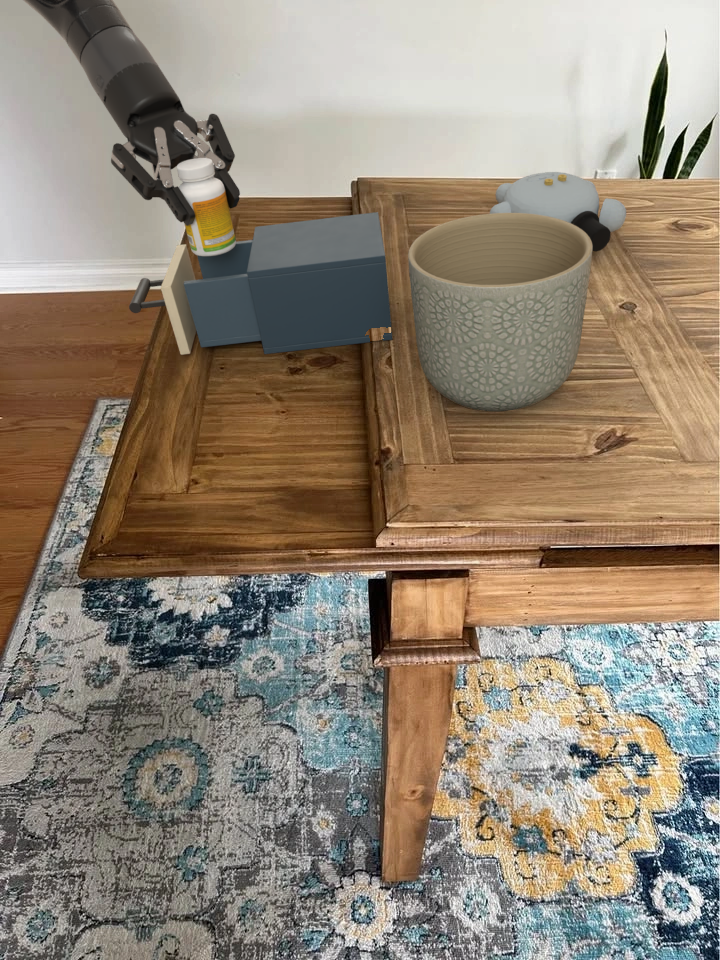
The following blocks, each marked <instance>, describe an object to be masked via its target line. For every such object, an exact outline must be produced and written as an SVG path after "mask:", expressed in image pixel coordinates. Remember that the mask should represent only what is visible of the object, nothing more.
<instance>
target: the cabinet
mask: <svg viewBox="0 0 720 960" xmlns="http://www.w3.org/2000/svg"><path fill="white" fill-rule="evenodd" d="M252 240H253V241H252V247H251V252H250V257H249V263H248V268H247V276H248V280H249V285H250V290H251V294H252V299H253V303H254V308H255V313H256V317H257V322H258V327H259V331H260V336H261V340H262V341H261V345H262V349H263V354H264V355H271V354H280V353H286V352H297V351H307V350H313V349H323V348H331V347H332V348H333V347H340V346H348V345H358V344H366V343H371V342H370V338H369V335H366V336H365V334H366V332H367V331H368V330H369V329H371V328H380V327H386V328H388V327H393V326H392V315H391V303H390V293H389V283H388V282H389V281H388V270H387V260H386V259H387V258H386V252H385V245H384V238H383V232H382V228H381V221H380V215H379V211H377V212H374V211H373V212H367V213H359V214H351V215H343V216H342V215H341V216H334V217H325V218H318V219H310V220H301V221H292V222H283V223H276V224H269V225H268V224H267V225H259V226H255V227H254V230H253V236H252ZM383 338H384V339H382V340H383V341H382V342H385V341H392V340H393V331H392V332H391V333H384V335H383Z"/></svg>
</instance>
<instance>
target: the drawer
mask: <svg viewBox="0 0 720 960" xmlns="http://www.w3.org/2000/svg"><path fill="white" fill-rule="evenodd" d="M252 241H253V239H247V240H239V241H236V245H235V247H234V248H233V249H231V250H230V251H228V252H226V253H223V254H220V255H215V256H198V255H196V257H197V261H198V264H199V265H198V266H199V268H200V273H201V277H202V279H201V278H200V279H196V275H195V272H194V269H193V264H192V260H191V257H190V254H189V253H190V252H189V249H188V246H187V244H186V243H185V244H177V245H176V247H175V250H174V252H173V255H172V257H171V259H170V263H169V265H168V267H167V270H166V273H165V275H164V278H163V279H155V280H150V278H147V277H143V278H141V279H140V280H139V283H138V284H137V287H136V290H135V292H134V294H133V296H132V298H131V300H130V303H129V306H128V307H129V308H128V309H129V311H130V312H131V313H133V314H139V313H141V311H142V309H150V308H151V309H152V308H159V307H166V310H167V313H168V317H169V321H170V323H171V327H172V330H173V334H174V337H175V341H176V344H177V347H178V350H179V354H180V355H181V356H183V355H190V354H191V351H192V349H193V346H194V345H193V344H194V340H195V337H196V334H197V338H198V341H199V345H200V348H208V347H209V348H210V347H217V346H226V345H235V344H242V343H252V342H259V341H260V342H262V340H261V336H260V331H259V327H258V322H257V317H256V313H255V308H254V303H253V299H252V294H251V290H250V285H249V280H248V276H247V268H248V263H249V257H250V252H251V247H252ZM155 287H160V290H161V293H162V297H163V299H158V300H150V301H149V300H148V301H146V299H147V296H148V294H149V293H150V289H151V288H155Z"/></svg>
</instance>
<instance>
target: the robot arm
mask: <svg viewBox="0 0 720 960" xmlns="http://www.w3.org/2000/svg"><path fill="white" fill-rule="evenodd" d="M22 1H23V2H25V3H26V4H27V5H28V6H29V7H31V8H32V9H33V10H34V11H35V12H36V13H37V14H38V15H39V16H40V17H42V18H43V19H44V20H45V21H46V22H47V23H48V24H49V25H50V27H52V28H53V29H54V31H55V32H56V33H58V35H60V37H61V38H62V39H63V40H64V42H65V43H66V44H67V46H68V48H69V49H70V51H71V52H72V54H73V56H74V57H75V58H76V60H77V62H78V64H79V65H80V67H82V70H83V71H84V73H85V75H86V77H87V79H88V81H89V84H90V85H91V87H92V88H93V90H94V91H95V93H96V95H97V96H98V99H100V101H101V102H102V104H103V106H104V108H105V109H106V110H107V112H108V113H109V115H110V116H111V118H112V119H113V121H114V123H115V124H116V126H117V127H118V129H119V130H120V131H121V133H122V135H123V136H124V137H125V138H126V139H127V142H125V143H123V144H122V143H118V142H116V143H114V144H113V145H112V150H111V156H110V157H111V159H110V163H111V165H112V166H113V167H114V168H115V169H116V171H118V172H119V173H120V175H122V177H123V178H124V179H125V180H126V181H127V183H129V184H130V185H131V187H132V188H133V189H134V190H135V191H136V192H137V193H138V194H139V195H140V196H141V197H142V199H144V200H145V201H152V199H153V198H159V199H161V200H163V201H164V202H165V204H166V205H167V207H168V208H169V210H170V211H171V213H172V214H173V215H174V217H175V219H176V220H177V221H178V222H180V223H183V224H184V226H185V225H186V226H188V225H191V224H193V222H194V219H195V212H194V211H193V209H192V208H191V206H190V204H189V203H188V201H187V200H186V198H185V197H184V195H183V194H182V192H181V191H180V189H179V185H177V186H175V185H174V179H173V174H172V170H173V169H175V168H177V165H178V164H179V163H181V162H183V161H186V160H190V159H195V158H208V159H211V160H212V162H213V166H214V170H215V171H214V172H215V174H214V178H217V179H219V180H220V181H221V182H222V183H223V185H224V188H225V192H226V197H227V202H228V206H229V210H231V209H234V208H236V207H238V203H239V202H240V196H241V191H240V188H239V187H238V185H237V183H236V182H235V181H234V179H233V178H232V176H231V174H230V173H229V172H230V171H231V168H232V165H233V162H234V160H235V158H236V155H235V151H234V150H233V147H232V145H231V143H230V141H229V137H228V136H227V133H226V131H225V128H224V126H223V124H222V122H221V119H220V117H219V116H218V115H217V114H216V113H210V114H209V115H208V118H207V119H200V120H199V119H197V120H196V119H195V118H194V117H193V116H192V115H190V114H189V113H187V112H186V110H185V108H184V106H183V103H182V100H181V99H180V97H179V96H178V94H177V92H176V91H175V89H174V88H173V86H172V85H171V83H170V82H169V80H168V79H167V76H166V75H165V74H164V72H163V71H162V69H161V68H160V66H159V64H158V63H157V62H156V60H155V59H154V57H153V55H152V54H151V52H150V51H149V49H148V48H147V47H146V45H145V44H144V43H143V41H142V40H140V38H139V37H138V36H137V34H135V31H134V30H133V29H132V27H131V26H130V24H129V23H128V21H127V19H126V18H125V17H124V15H123V13H122V11H121V10H120V9H119V7H118V6H117V3H116V2H115V1H114V0H22ZM198 134H200V135H201V136H202V137H203V138H204V139H203V140H202V138H200V137H199V136H198ZM207 142H208V143H207ZM196 152H197V155H196ZM137 157H138V158H141V159H143V160H145V161H146V162H148V163H150V164H151V169H152V170H151V171H152V175H153V176H152V175H151V174H150V173H149V172H148V171H147V170H146V168H145V167H144V166H142V164H141V163H140V162H139V161H138V160H137Z"/></svg>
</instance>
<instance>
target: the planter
mask: <svg viewBox="0 0 720 960" xmlns="http://www.w3.org/2000/svg"><path fill="white" fill-rule="evenodd" d="M592 249H593V245H592V241H591V239H590V237H589V236H588V235H587V234H586V233H585V232H584V231H583V230H582V229H580V228H579V227H577V226H575V225H573V224H571V223H569V222H566V221H563V220H560V219H557V218H553V217H549V216H543V215H537V214H528V213H493V214H490V213H484V214H483V213H482V214H477V215H476V214H475V215H471V216H465V217H460V218H457V219H453V220H450V221H446V222H443V223H441V224H439V225H437V226H434V227H432V228H430V229H428V230H427V231H425V232H423V233H422V234H421V235H419V236H418V237H417V238H415V240H414V241H412V243H411V245H410V247H409V250H408V253H407V254H408V255H407V257H408V259H407V261H408V274H409V275H408V276H409V284H410V285H409V286H410V295H411V303H412V311H413V321H414V332H415V343H416V349H417V354H418V355H417V356H418V361H419V365H420V368H421V370H422V372H423V375H424V376H425V378H426V379H427V381H428V382H429V384H430V385H431V386H432V387H433V389H435V390H436V391H437V392H438V393H439V394H441V395H442V396H443V397H445V398H446V399H448V400H449V401H451V402H453V403H455V404H457V405H459V406H461V407H464V408H467V409H472V410H475V411H480V412H481V411H482V412H490V413H491V412H492V413H493V412H494V413H501V412H511V411H517V410H521V409H523V408H524V409H525V408H527V407H530V406H533V405H535V404H537V403H539V402H541V401H543V400H545V399H546V398H548V397H550V396H551V395H552V394H554V393H555V392H556V391H557V390H559V389H560V388H561V387H562V386H563V385H564V384H565V382H566V381H567V380H568V378H569V377H570V375H571V373H572V372H573V370H574V367H575V366H576V362H577V359H578V354H579V350H580V345H581V340H582V333H583V325H584V318H585V311H586V305H587V298H588V292H589V284H590V275H591V268H592V261H593V259H592V258H593V251H592Z"/></svg>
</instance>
